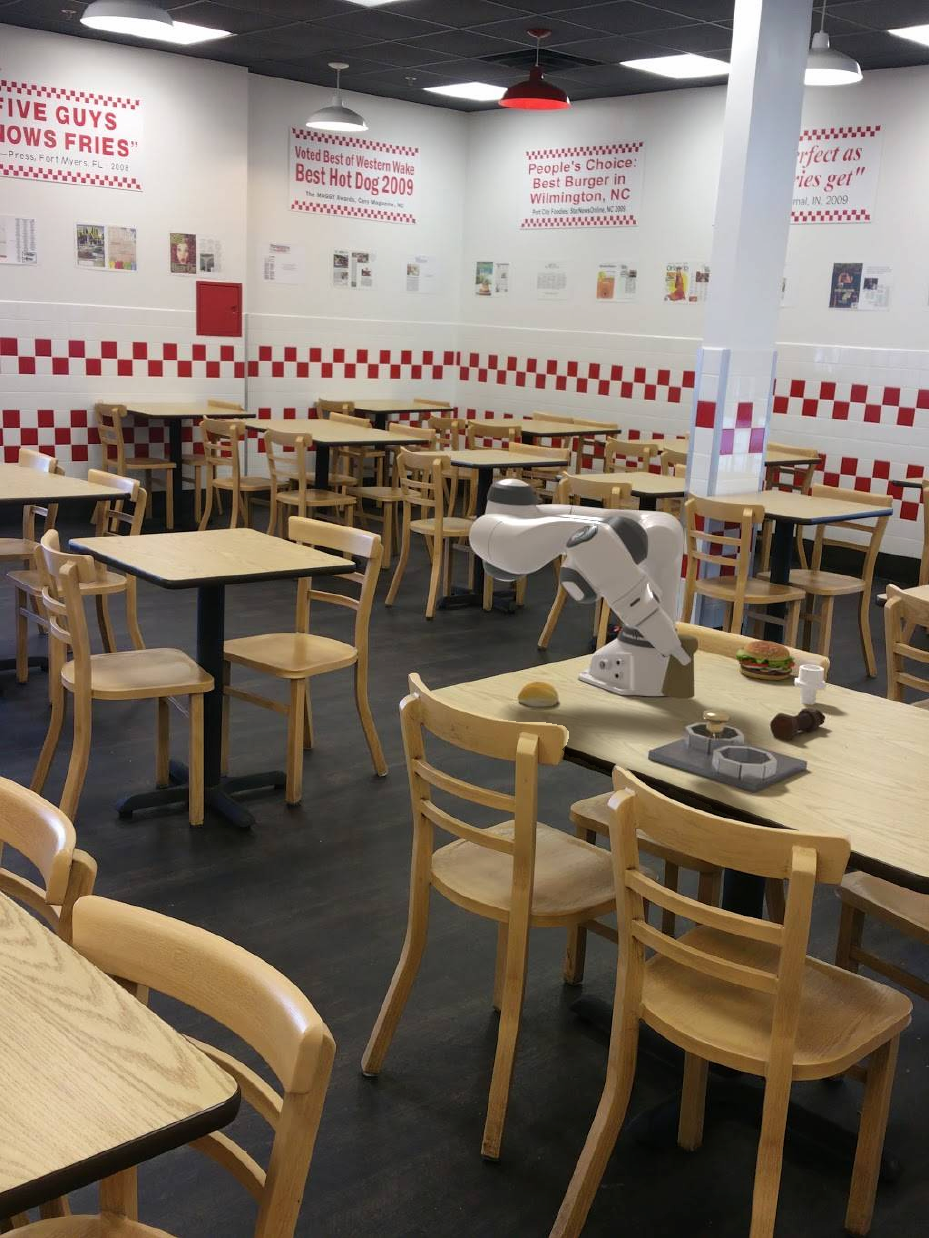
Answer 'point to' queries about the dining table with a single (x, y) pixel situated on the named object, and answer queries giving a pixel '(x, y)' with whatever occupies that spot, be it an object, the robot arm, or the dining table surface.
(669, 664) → the cork
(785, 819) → the dining table surface
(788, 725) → the bolt
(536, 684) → the bread roll
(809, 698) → the pipe fitting
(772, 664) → the food
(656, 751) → the bolt plate
